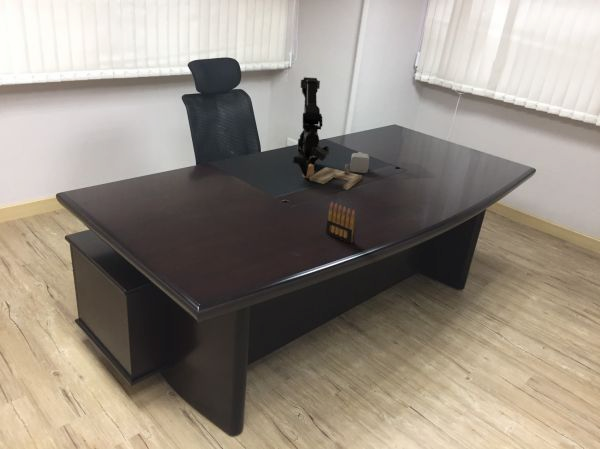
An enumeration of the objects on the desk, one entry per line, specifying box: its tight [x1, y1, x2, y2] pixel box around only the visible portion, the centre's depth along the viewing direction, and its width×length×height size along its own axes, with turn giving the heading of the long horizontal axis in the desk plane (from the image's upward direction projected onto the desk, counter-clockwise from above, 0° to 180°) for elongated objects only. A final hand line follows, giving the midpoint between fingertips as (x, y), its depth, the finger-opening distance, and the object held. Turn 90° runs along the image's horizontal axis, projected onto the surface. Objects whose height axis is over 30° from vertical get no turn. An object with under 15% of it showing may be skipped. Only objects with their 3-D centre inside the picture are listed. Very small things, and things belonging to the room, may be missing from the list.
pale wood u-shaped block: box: [309, 163, 363, 191], centre depth 218 cm, size 18×16×6 cm
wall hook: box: [349, 151, 370, 174], centre depth 231 cm, size 8×10×10 cm
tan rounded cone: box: [301, 164, 315, 179], centre depth 220 cm, size 5×5×5 cm
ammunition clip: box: [325, 201, 356, 244], centre depth 167 cm, size 11×2×12 cm, turn 50°
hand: (307, 174), depth 220 cm, fingers closed on tan rounded cone, 5 cm apart
